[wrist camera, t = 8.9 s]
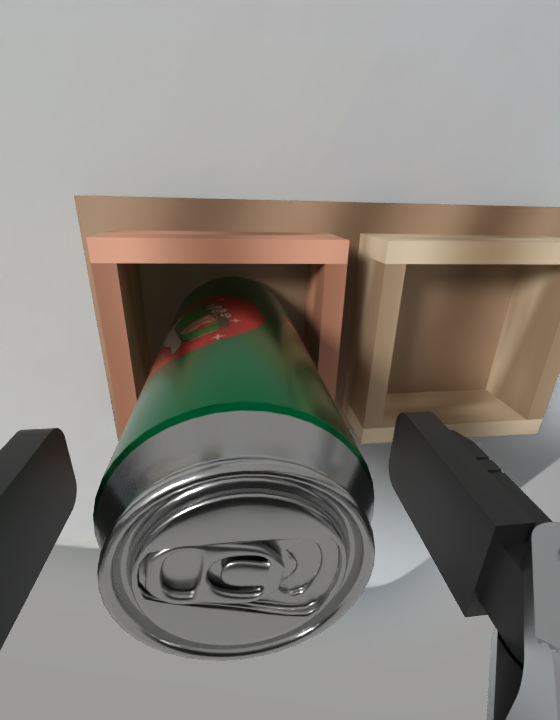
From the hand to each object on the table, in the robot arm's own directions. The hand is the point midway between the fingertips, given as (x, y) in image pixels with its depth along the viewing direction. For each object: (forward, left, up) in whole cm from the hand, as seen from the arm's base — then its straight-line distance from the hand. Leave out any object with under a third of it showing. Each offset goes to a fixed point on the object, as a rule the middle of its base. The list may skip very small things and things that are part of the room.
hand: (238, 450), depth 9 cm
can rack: (-5, 0, -9) cm, 11 cm away
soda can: (0, 0, -9) cm, 9 cm away
